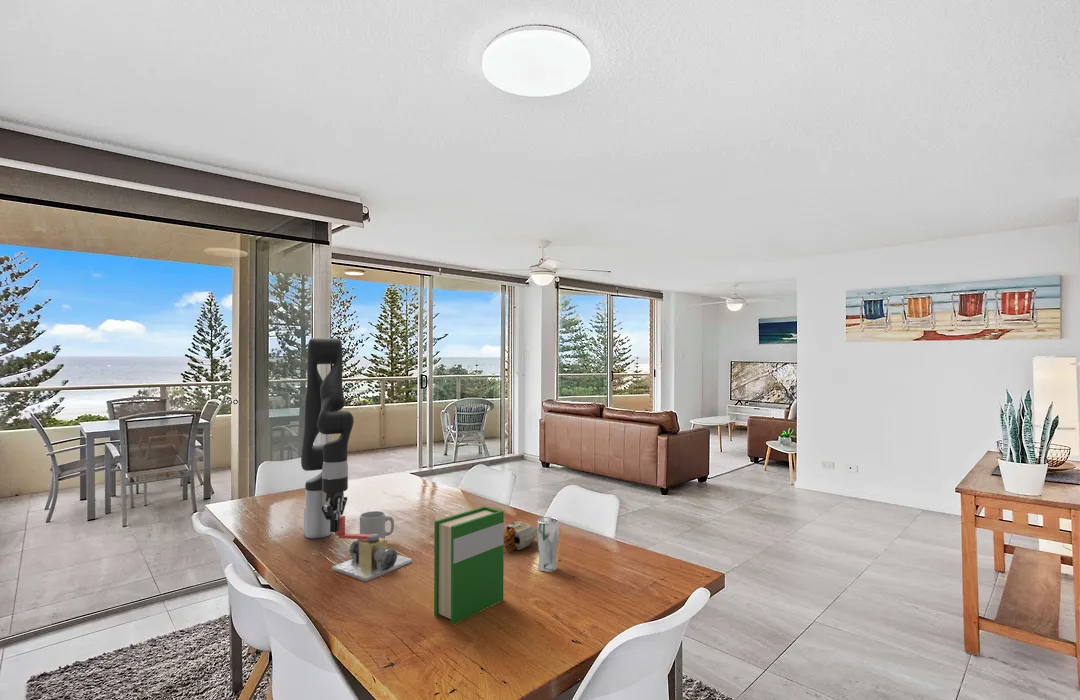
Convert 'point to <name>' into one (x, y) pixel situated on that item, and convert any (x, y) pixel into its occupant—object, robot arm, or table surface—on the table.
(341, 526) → the lever
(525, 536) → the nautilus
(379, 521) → the mug
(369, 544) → the valve body
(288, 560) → the table surface
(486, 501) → the table surface
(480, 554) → the hardback book
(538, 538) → the beer glass
